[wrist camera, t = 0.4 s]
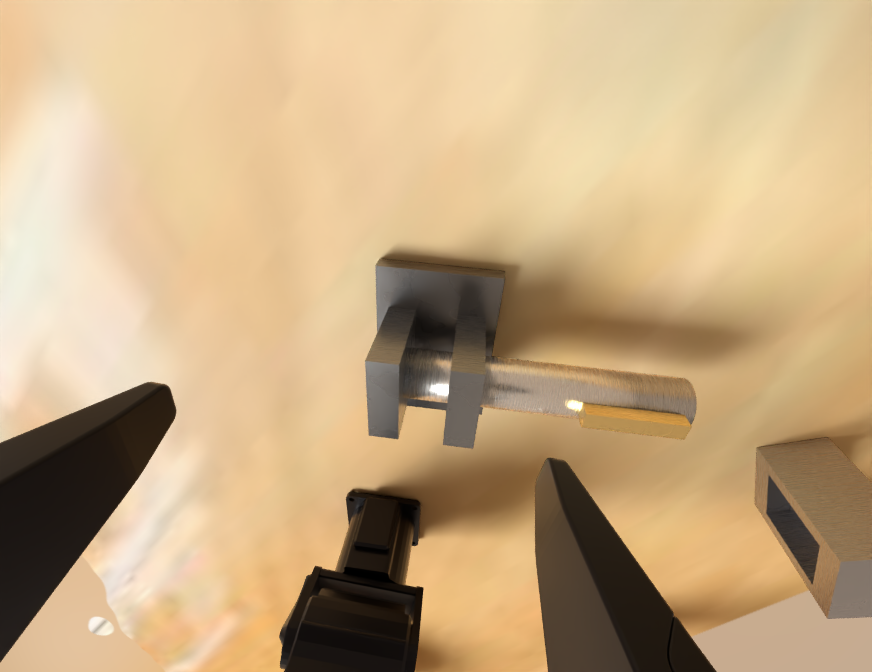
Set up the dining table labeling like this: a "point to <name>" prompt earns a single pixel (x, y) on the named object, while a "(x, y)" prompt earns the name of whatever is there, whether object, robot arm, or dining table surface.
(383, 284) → the shaft stand
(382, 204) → the dining table surface
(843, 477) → the hollow rectangular metal block
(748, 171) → the dining table surface
